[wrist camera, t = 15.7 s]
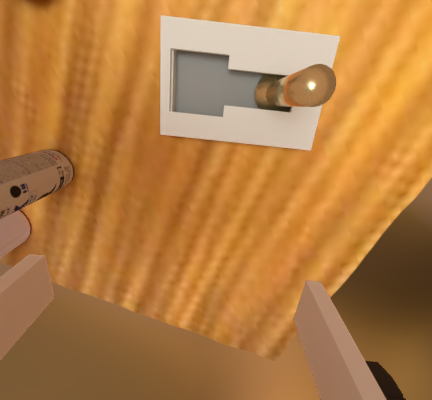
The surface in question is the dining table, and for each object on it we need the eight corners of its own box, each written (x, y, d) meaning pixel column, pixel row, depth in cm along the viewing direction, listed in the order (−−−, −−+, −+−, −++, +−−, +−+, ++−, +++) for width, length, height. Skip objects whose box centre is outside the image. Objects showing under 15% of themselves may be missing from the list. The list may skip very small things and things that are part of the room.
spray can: (52, 192, 41) (-85, 263, 23) (26, 157, 39) (-151, 206, 20) (82, 177, 40) (-37, 241, 22) (57, 141, 38) (-101, 177, 19)
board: (167, 25, 31) (160, 15, 28) (327, 43, 32) (340, 36, 28) (165, 131, 37) (160, 134, 33) (302, 146, 37) (310, 150, 34)
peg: (258, 68, 32) (288, 38, 18) (300, 73, 32) (364, 47, 18) (251, 113, 34) (273, 120, 20) (290, 118, 34) (340, 127, 20)
